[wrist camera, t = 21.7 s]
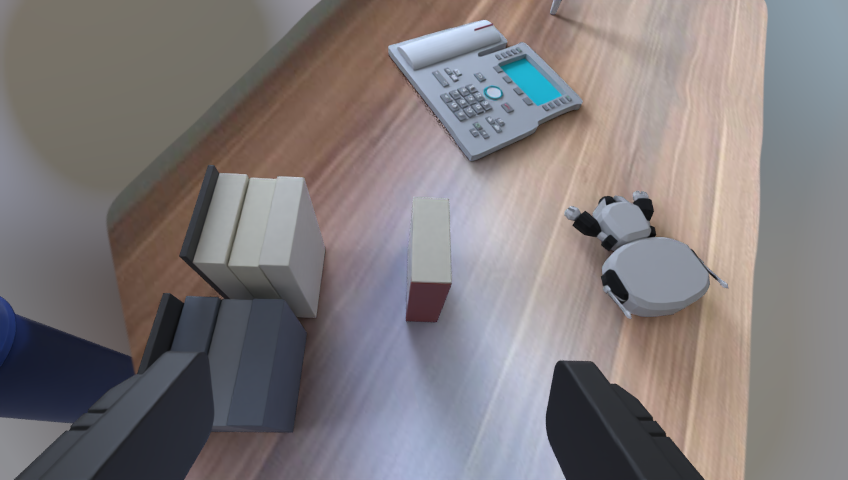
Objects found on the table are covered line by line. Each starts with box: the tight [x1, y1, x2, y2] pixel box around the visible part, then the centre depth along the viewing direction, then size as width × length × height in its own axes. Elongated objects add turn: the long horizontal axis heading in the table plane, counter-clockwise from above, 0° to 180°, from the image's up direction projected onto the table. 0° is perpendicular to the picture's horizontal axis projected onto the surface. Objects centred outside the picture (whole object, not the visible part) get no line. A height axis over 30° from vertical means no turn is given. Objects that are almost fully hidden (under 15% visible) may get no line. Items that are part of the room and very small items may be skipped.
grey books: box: [137, 293, 307, 432], centre depth 32 cm, size 8×9×12 cm
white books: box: [179, 165, 325, 318], centre depth 36 cm, size 7×8×14 cm
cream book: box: [406, 197, 452, 322], centre depth 39 cm, size 3×8×11 cm, turn 0°
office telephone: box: [389, 20, 582, 161], centre depth 58 cm, size 23×3×20 cm
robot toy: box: [565, 191, 729, 319], centre depth 45 cm, size 12×4×15 cm
